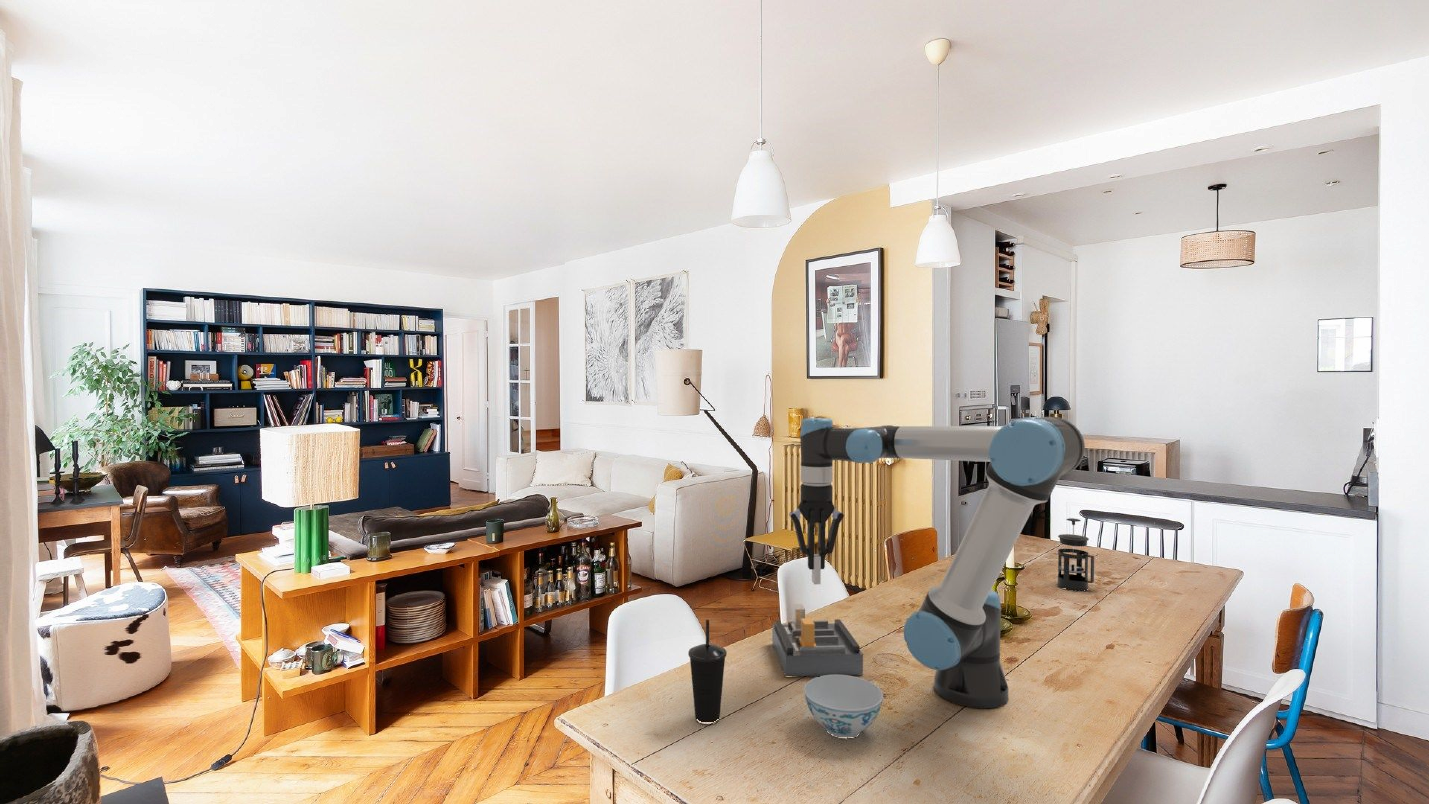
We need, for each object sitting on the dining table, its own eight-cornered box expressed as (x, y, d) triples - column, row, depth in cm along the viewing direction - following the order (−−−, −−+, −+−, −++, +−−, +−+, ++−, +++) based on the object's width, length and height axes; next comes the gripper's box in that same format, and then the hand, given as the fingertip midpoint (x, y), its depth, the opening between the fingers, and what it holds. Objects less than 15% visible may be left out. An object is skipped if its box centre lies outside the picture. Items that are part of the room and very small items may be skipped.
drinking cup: (693, 731, 128) (693, 628, 128) (684, 712, 136) (684, 615, 135) (731, 726, 130) (731, 625, 130) (720, 707, 138) (720, 612, 137)
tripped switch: (816, 649, 155) (816, 624, 155) (803, 649, 155) (803, 625, 155) (812, 641, 160) (812, 617, 160) (799, 641, 160) (799, 617, 160)
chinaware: (788, 730, 129) (788, 690, 129) (833, 704, 140) (833, 668, 139) (853, 761, 118) (854, 718, 118) (897, 730, 129) (897, 691, 129)
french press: (1049, 585, 223) (1050, 517, 223) (1063, 581, 229) (1064, 514, 228) (1085, 594, 214) (1086, 523, 213) (1099, 589, 219) (1100, 520, 219)
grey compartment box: (862, 675, 154) (863, 627, 153) (785, 677, 152) (785, 629, 152) (840, 642, 174) (840, 600, 173) (772, 643, 172) (772, 601, 172)
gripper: (839, 481, 161) (839, 577, 162) (786, 481, 160) (786, 578, 161) (847, 485, 154) (847, 586, 154) (792, 486, 153) (791, 588, 153)
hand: (816, 582), depth 157 cm, fingers closed
